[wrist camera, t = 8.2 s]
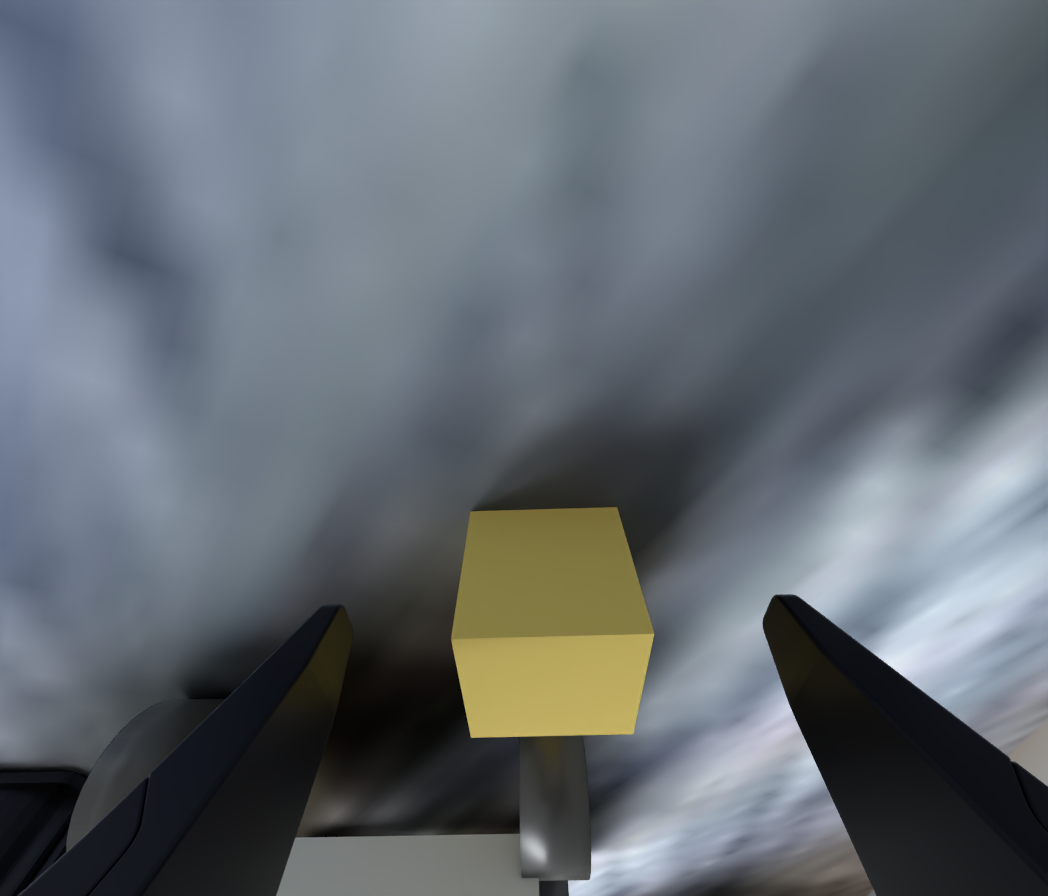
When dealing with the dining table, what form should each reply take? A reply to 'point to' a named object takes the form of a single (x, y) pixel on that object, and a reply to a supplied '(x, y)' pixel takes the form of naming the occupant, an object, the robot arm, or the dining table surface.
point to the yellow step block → (550, 624)
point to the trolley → (389, 861)
